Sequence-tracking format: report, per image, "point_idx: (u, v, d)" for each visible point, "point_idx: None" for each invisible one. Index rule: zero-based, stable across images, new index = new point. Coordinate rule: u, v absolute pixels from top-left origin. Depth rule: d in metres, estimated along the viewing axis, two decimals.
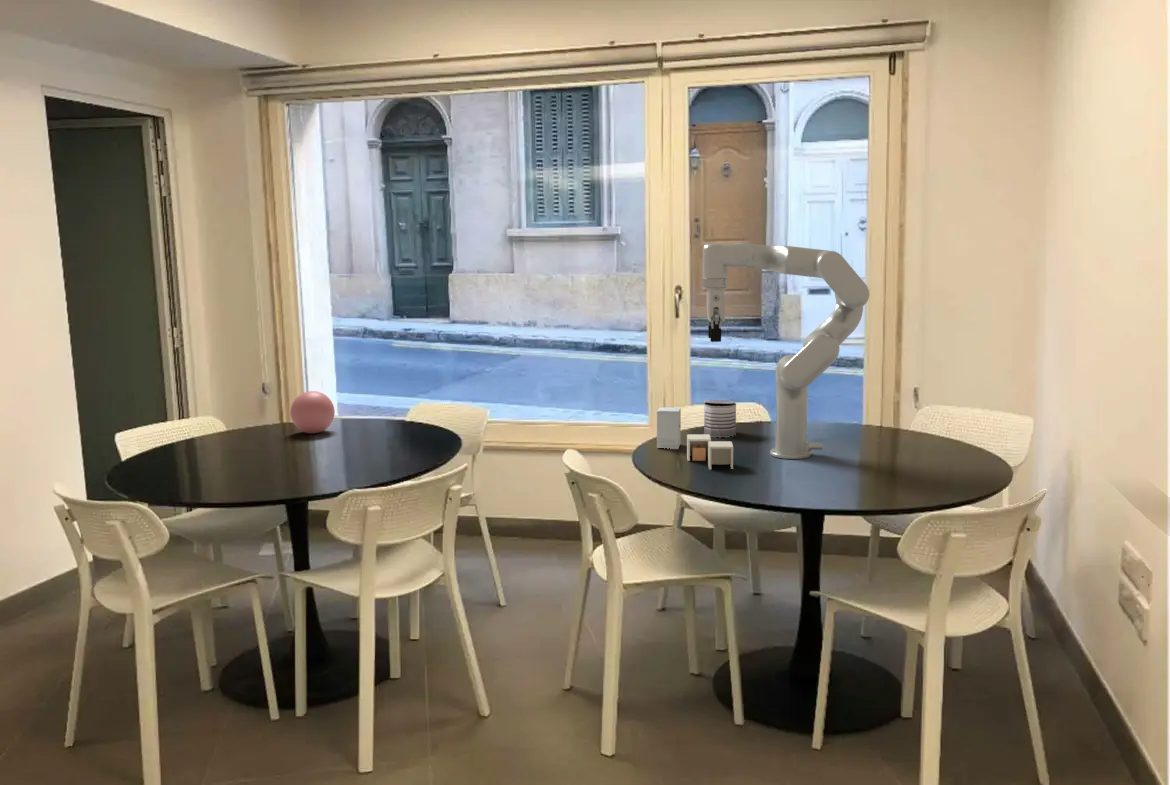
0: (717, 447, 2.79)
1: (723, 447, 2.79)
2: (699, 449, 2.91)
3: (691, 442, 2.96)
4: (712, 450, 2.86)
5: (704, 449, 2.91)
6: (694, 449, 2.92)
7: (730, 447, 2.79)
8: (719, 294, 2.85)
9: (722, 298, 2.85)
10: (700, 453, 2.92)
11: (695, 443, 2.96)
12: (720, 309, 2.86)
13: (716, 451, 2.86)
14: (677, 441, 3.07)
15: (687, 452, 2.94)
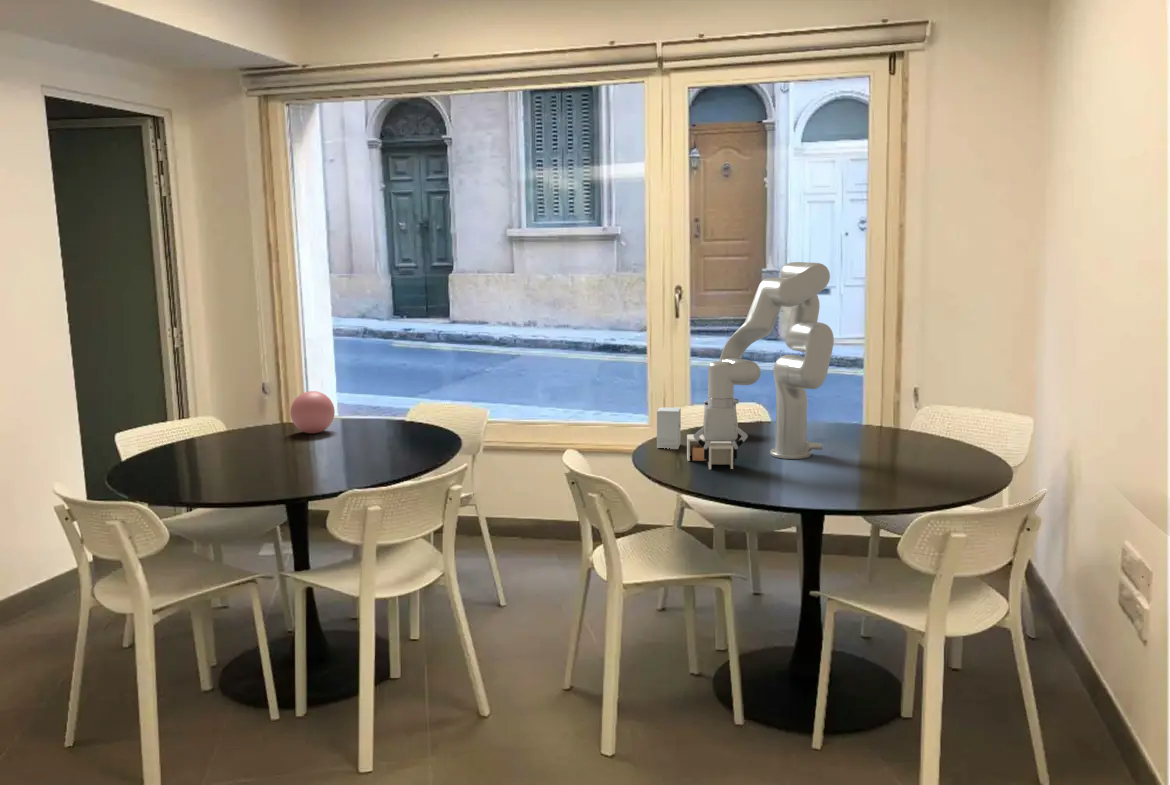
0: (717, 447, 2.79)
1: (723, 447, 2.79)
2: (699, 449, 2.91)
3: (691, 442, 2.96)
4: (712, 450, 2.86)
5: None
6: (694, 449, 2.92)
7: (730, 447, 2.79)
8: None
9: None
10: (700, 453, 2.92)
11: (695, 443, 2.96)
12: None
13: (716, 451, 2.86)
14: (677, 441, 3.07)
15: (687, 452, 2.94)
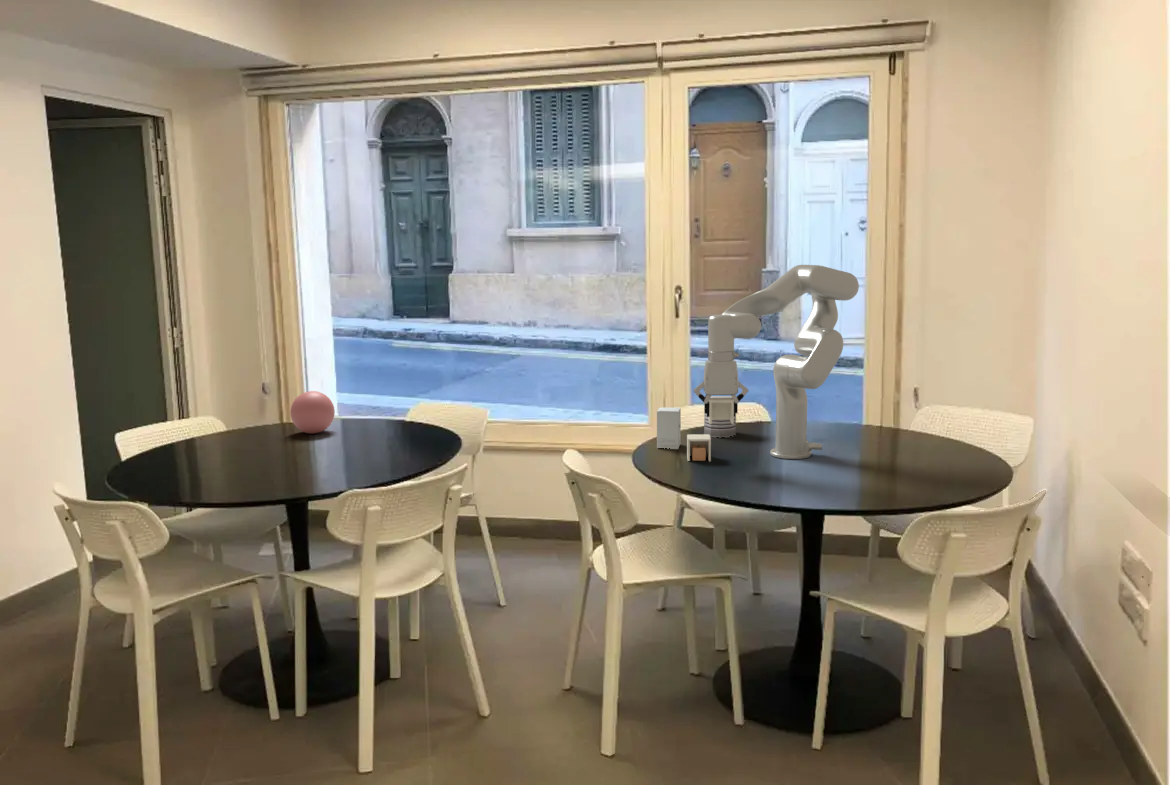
0: (717, 401, 2.77)
1: (723, 401, 2.77)
2: (699, 449, 2.91)
3: (691, 442, 2.96)
4: (712, 405, 2.84)
5: (704, 449, 2.91)
6: (694, 449, 2.92)
7: (730, 401, 2.77)
8: None
9: None
10: (700, 453, 2.92)
11: (695, 443, 2.96)
12: None
13: (716, 406, 2.84)
14: (677, 441, 3.07)
15: (687, 452, 2.94)
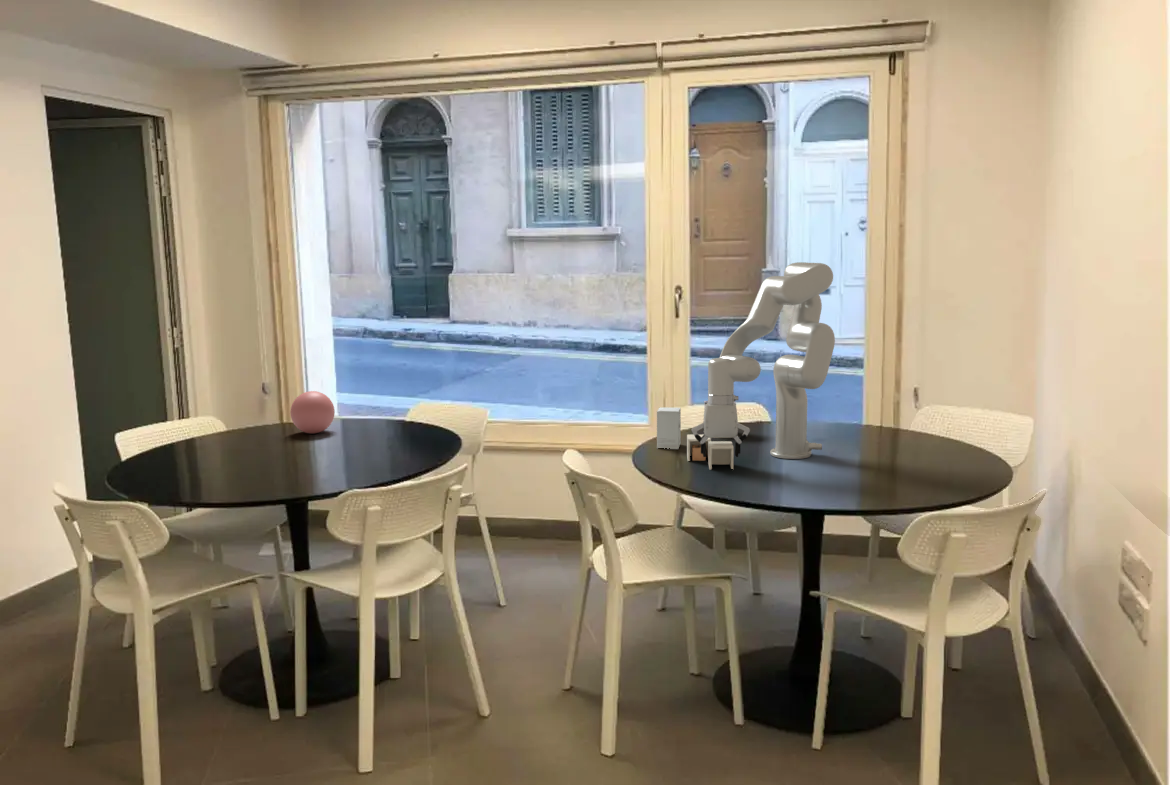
0: (717, 447, 2.79)
1: (723, 447, 2.79)
2: (699, 449, 2.91)
3: (691, 442, 2.96)
4: (712, 450, 2.86)
5: None
6: (694, 449, 2.92)
7: (730, 447, 2.79)
8: None
9: None
10: (700, 453, 2.92)
11: (695, 443, 2.96)
12: None
13: (716, 451, 2.86)
14: (677, 441, 3.07)
15: (687, 452, 2.94)
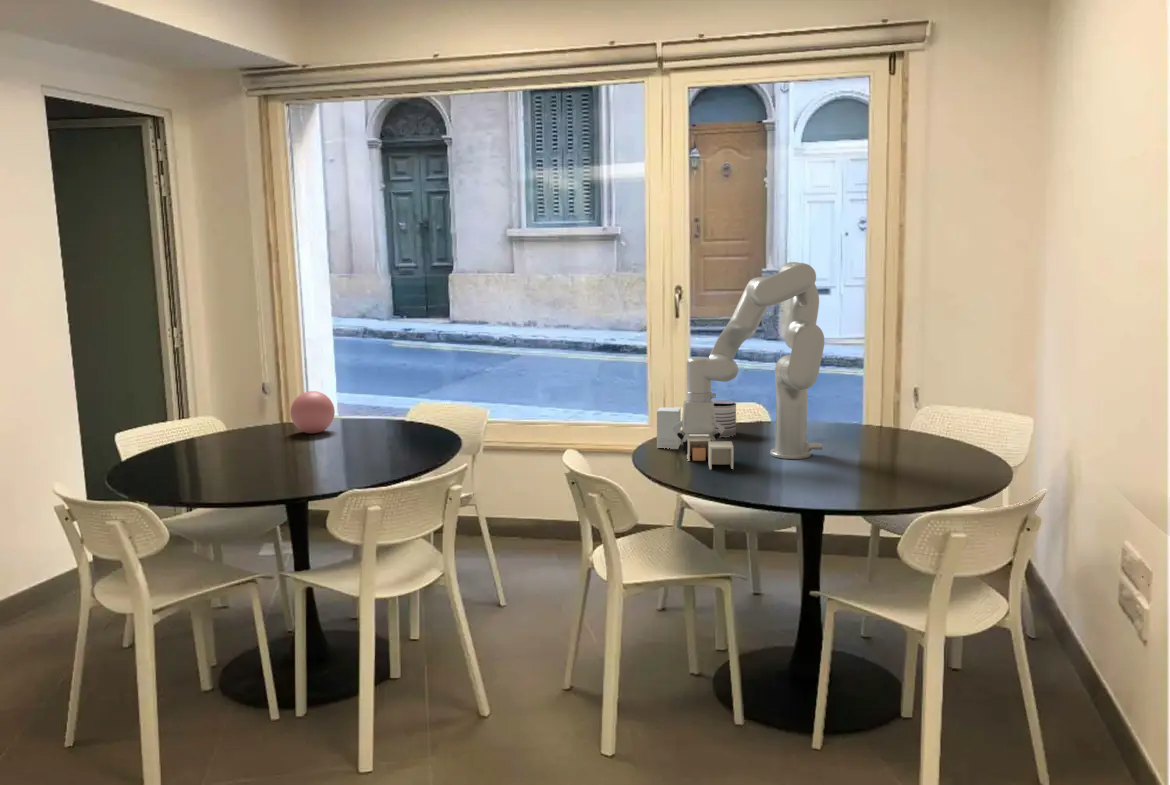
0: (717, 447, 2.79)
1: (723, 447, 2.79)
2: (699, 449, 2.91)
3: (691, 442, 2.96)
4: (712, 450, 2.86)
5: (704, 449, 2.91)
6: (694, 449, 2.92)
7: (730, 447, 2.79)
8: None
9: None
10: (700, 453, 2.92)
11: (695, 443, 2.96)
12: None
13: (716, 451, 2.86)
14: (677, 441, 3.07)
15: None
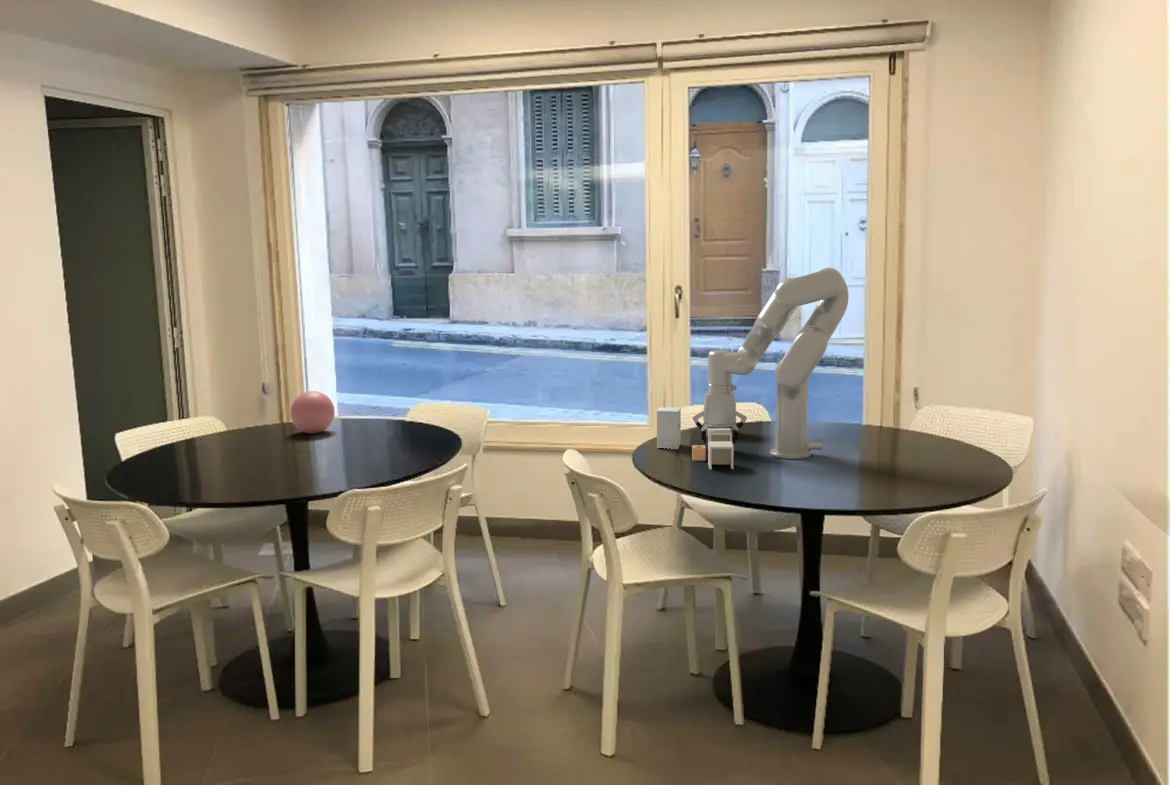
0: (717, 447, 2.79)
1: (723, 447, 2.79)
2: (699, 449, 2.91)
3: (712, 436, 3.05)
4: (712, 450, 2.86)
5: (704, 449, 2.91)
6: (694, 449, 2.92)
7: (730, 447, 2.79)
8: None
9: None
10: (700, 453, 2.92)
11: (716, 437, 3.04)
12: None
13: (716, 451, 2.86)
14: (677, 441, 3.07)
15: None
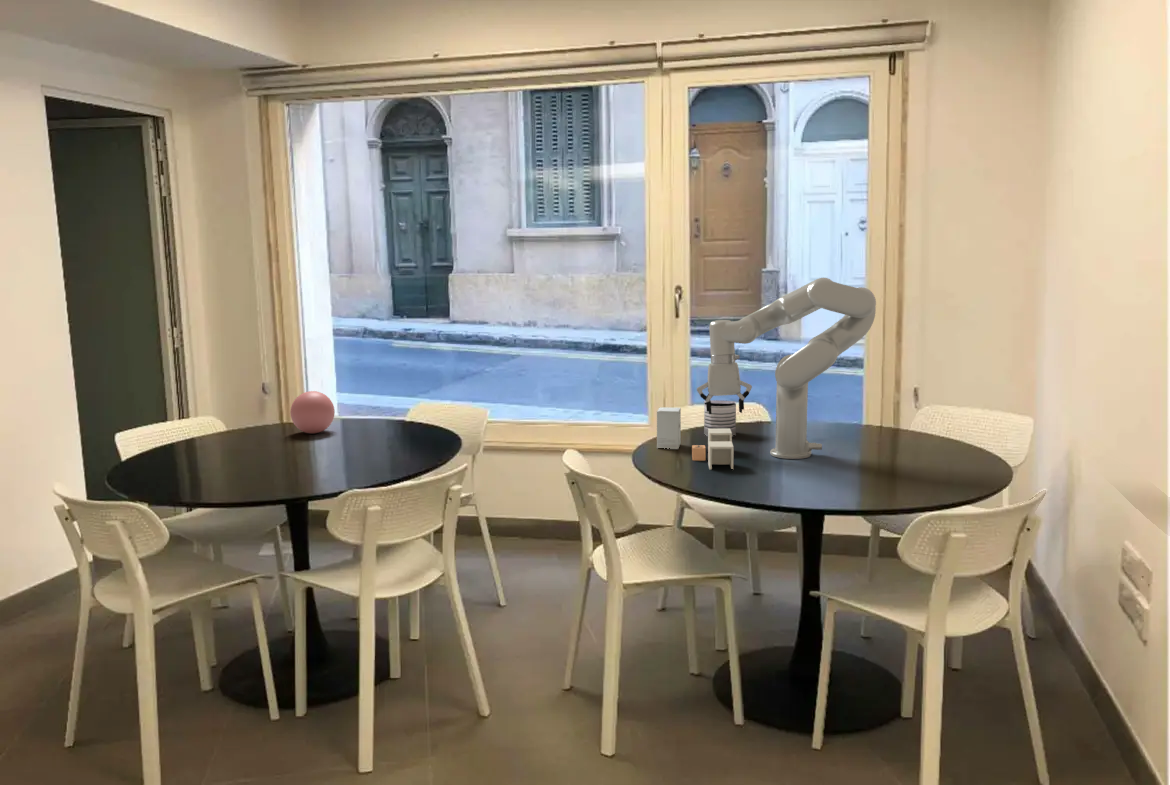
0: (717, 447, 2.79)
1: (723, 447, 2.79)
2: (699, 449, 2.91)
3: (712, 436, 3.04)
4: (712, 450, 2.86)
5: (704, 449, 2.91)
6: (694, 449, 2.92)
7: (730, 447, 2.79)
8: None
9: None
10: (700, 453, 2.92)
11: (716, 437, 3.04)
12: None
13: (716, 451, 2.86)
14: (677, 441, 3.07)
15: None
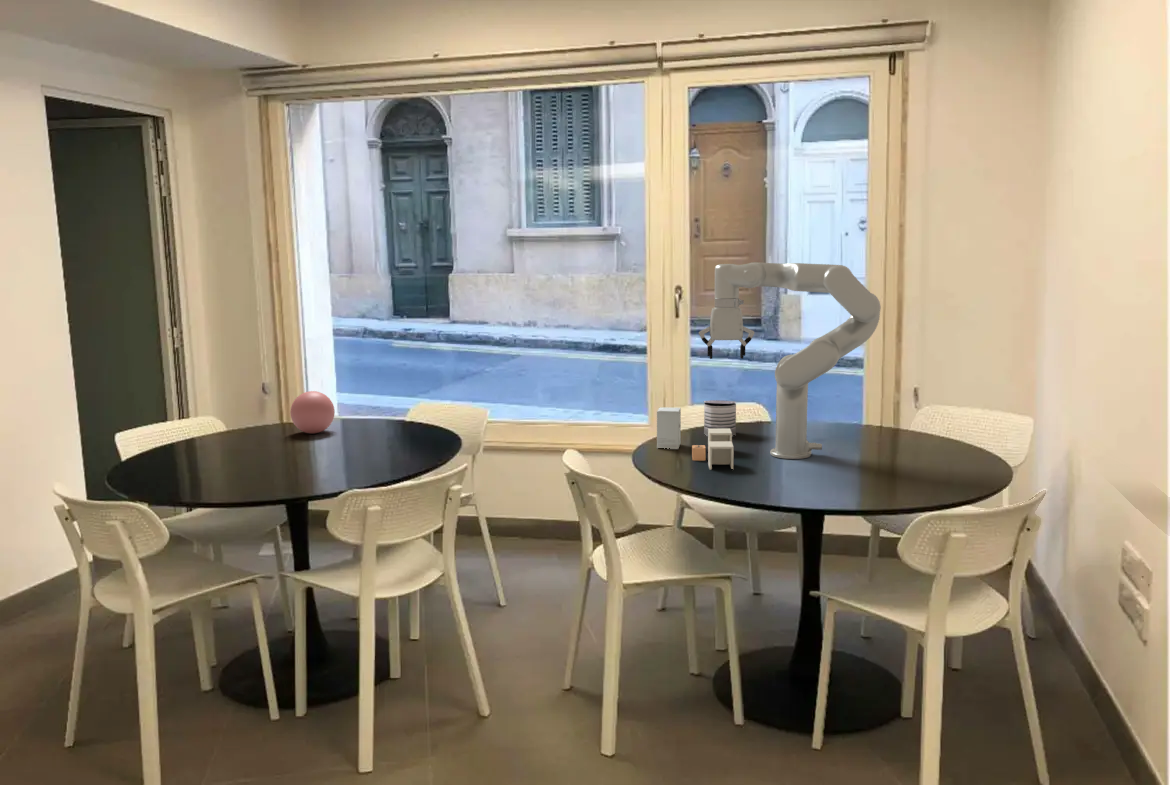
0: (717, 447, 2.79)
1: (723, 447, 2.79)
2: (699, 449, 2.91)
3: (712, 436, 3.04)
4: (712, 450, 2.86)
5: (704, 449, 2.91)
6: (694, 449, 2.92)
7: (730, 447, 2.79)
8: None
9: None
10: (700, 453, 2.92)
11: (716, 437, 3.04)
12: None
13: (716, 451, 2.86)
14: (677, 441, 3.07)
15: None
